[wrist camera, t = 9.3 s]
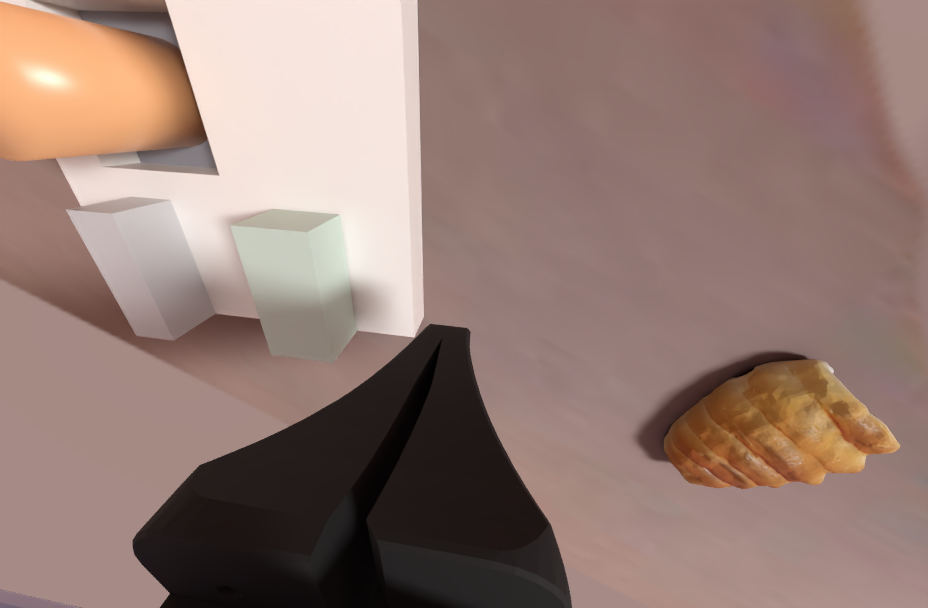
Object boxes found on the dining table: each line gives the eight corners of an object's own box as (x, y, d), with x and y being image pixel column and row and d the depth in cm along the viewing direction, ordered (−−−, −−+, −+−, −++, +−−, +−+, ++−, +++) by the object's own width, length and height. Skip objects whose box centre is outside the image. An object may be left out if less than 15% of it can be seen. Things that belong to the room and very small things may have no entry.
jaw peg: (227, 150, 15) (73, 166, 10) (148, 143, 15) (-41, 155, 10) (196, 38, 13) (-17, -15, 8) (106, 33, 13) (-155, -21, 8)
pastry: (700, 474, 22) (732, 537, 19) (632, 422, 20) (654, 480, 17) (865, 404, 17) (946, 470, 14) (793, 332, 16) (864, 386, 13)
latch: (356, 331, 17) (333, 362, 15) (301, 325, 17) (270, 354, 15) (339, 214, 14) (307, 232, 12) (273, 209, 14) (229, 225, 12)
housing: (423, 316, 18) (398, 369, 14) (166, 287, 20) (81, 328, 16) (416, -67, 11) (360, -170, 7) (4, -65, 12) (-230, -150, 8)
